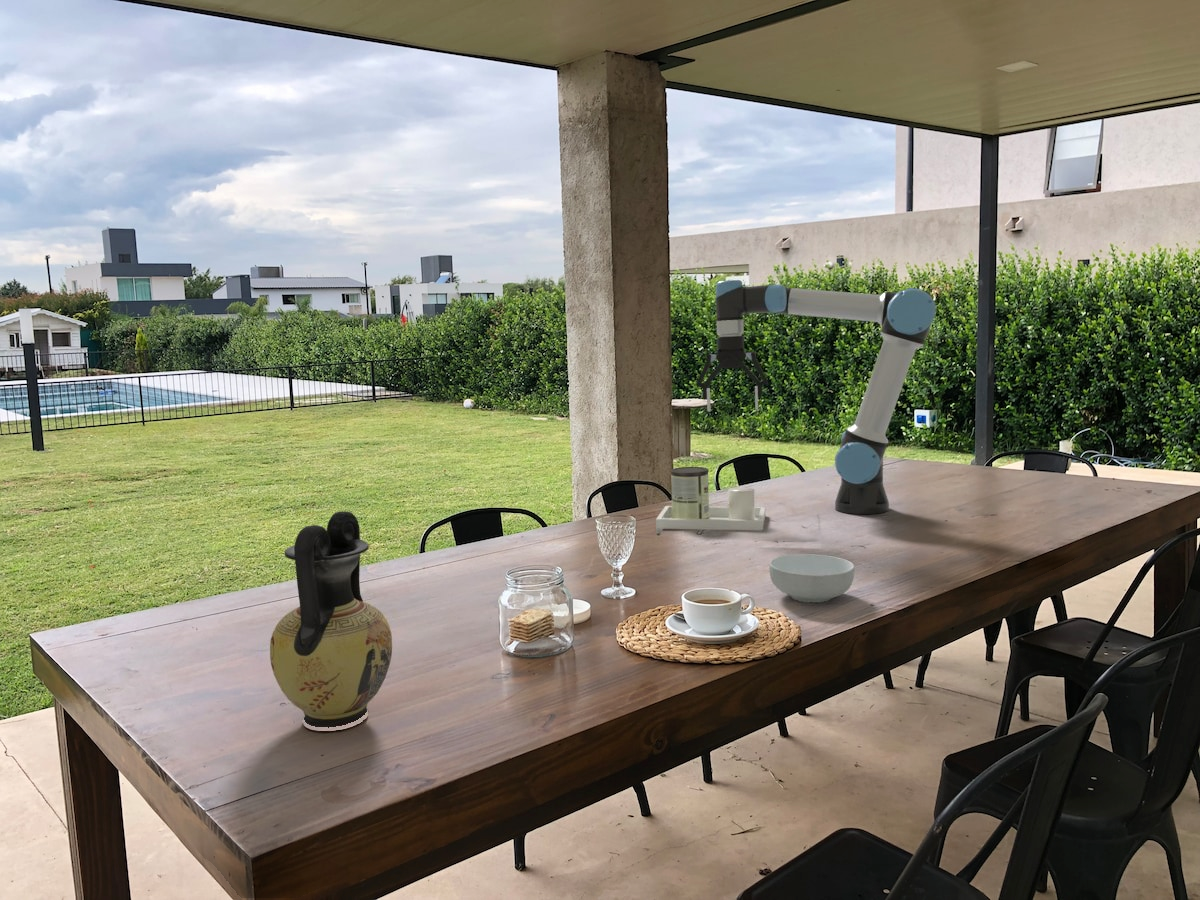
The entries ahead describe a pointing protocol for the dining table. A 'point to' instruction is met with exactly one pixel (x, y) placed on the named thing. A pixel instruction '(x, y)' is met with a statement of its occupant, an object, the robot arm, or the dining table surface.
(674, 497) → the coffee can
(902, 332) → the robot arm
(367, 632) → the amphora
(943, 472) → the dining table surface
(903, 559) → the dining table surface
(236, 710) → the dining table surface
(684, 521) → the tray
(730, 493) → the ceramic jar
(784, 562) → the cereal bowl
